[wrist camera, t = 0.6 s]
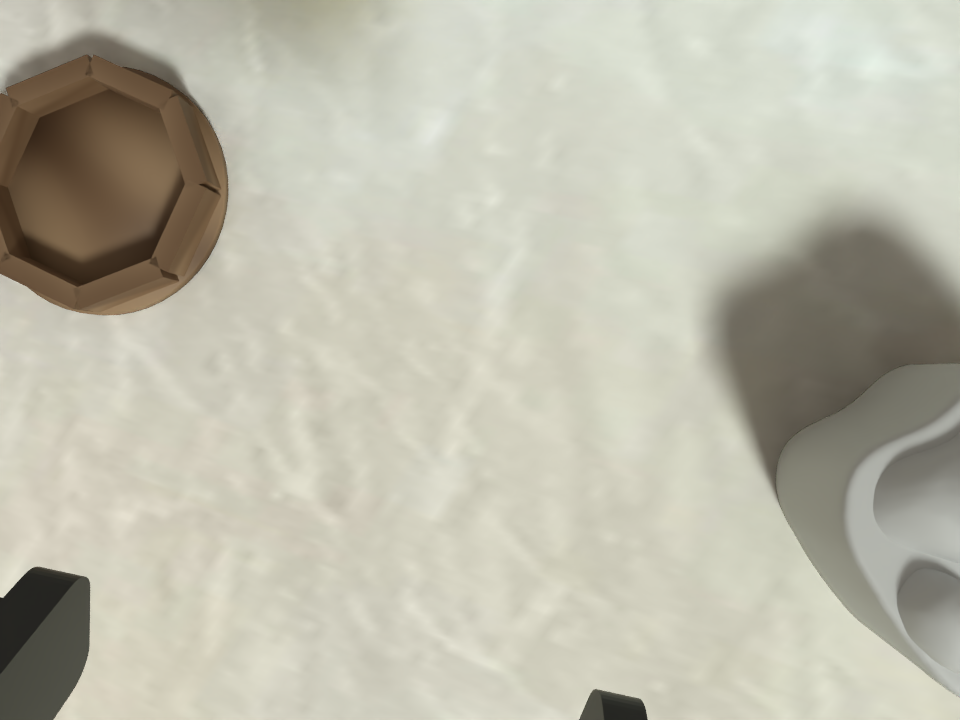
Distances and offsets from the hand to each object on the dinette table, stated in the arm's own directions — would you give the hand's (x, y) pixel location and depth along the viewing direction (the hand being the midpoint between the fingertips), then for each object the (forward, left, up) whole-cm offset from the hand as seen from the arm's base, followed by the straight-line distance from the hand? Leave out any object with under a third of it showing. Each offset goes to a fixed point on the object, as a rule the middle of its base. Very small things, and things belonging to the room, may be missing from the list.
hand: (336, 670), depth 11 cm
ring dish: (-5, -22, -22) cm, 31 cm away
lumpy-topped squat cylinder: (-7, +19, -22) cm, 30 cm away
